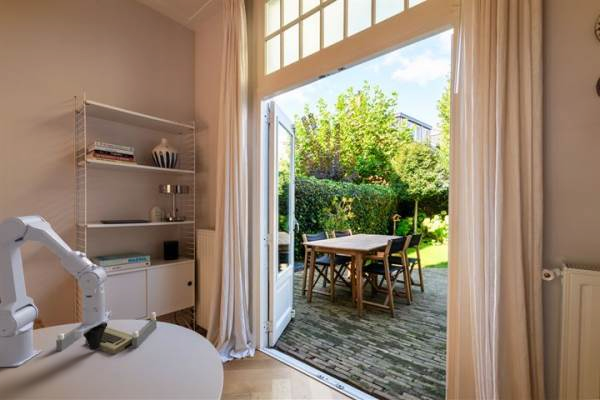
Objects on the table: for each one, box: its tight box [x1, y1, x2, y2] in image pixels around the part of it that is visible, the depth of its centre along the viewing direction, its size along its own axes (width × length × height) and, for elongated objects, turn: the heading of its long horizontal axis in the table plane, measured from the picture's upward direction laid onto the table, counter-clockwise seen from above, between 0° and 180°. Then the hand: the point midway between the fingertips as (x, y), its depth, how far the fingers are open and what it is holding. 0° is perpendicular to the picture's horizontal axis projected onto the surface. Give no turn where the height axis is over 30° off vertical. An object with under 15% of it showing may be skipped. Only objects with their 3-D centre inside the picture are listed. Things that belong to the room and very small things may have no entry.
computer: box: [84, 326, 133, 355], centre depth 95 cm, size 16×8×3 cm, turn 65°
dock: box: [55, 311, 158, 352], centre depth 98 cm, size 25×14×6 cm, turn 93°
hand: (95, 348), depth 90 cm, fingers closed
